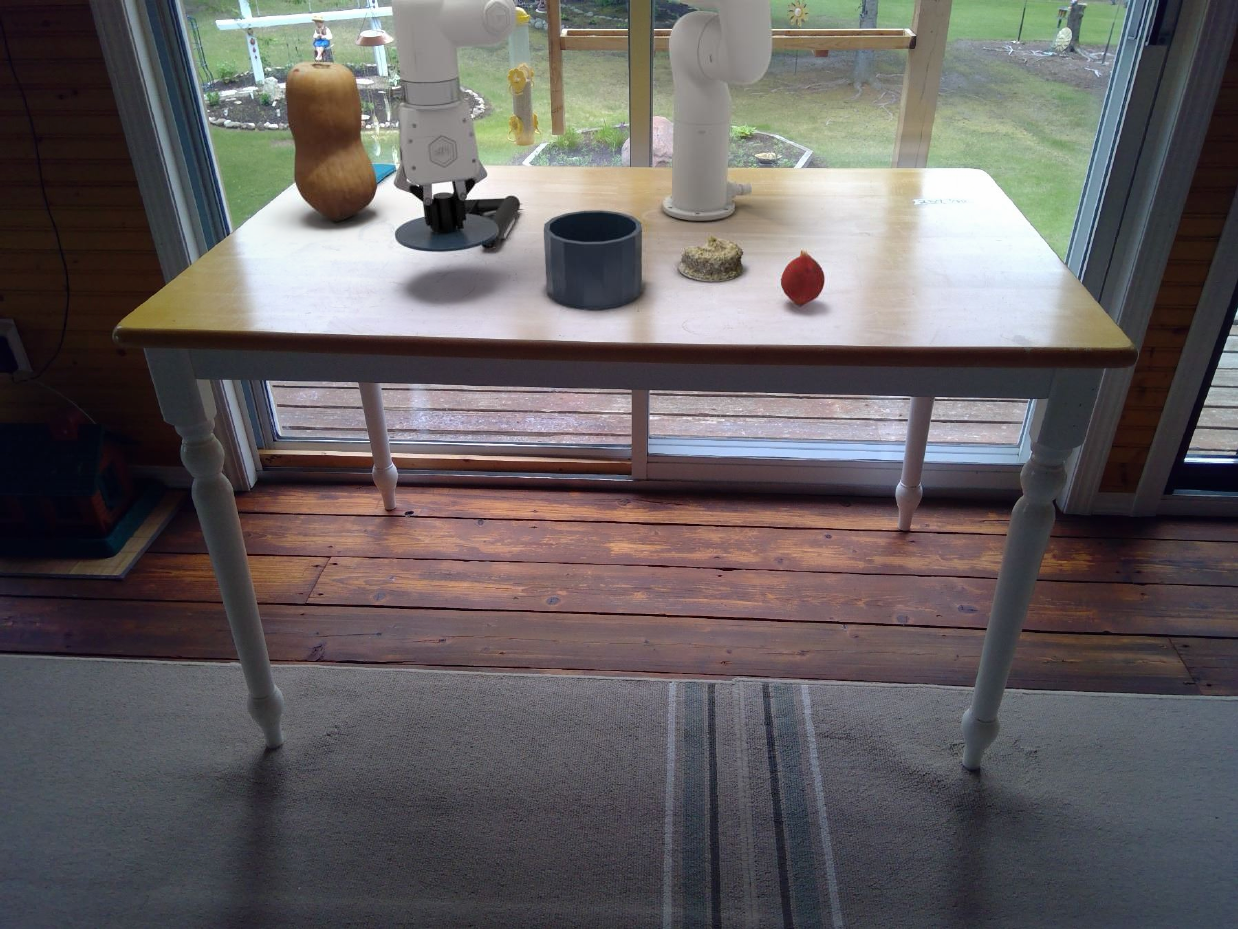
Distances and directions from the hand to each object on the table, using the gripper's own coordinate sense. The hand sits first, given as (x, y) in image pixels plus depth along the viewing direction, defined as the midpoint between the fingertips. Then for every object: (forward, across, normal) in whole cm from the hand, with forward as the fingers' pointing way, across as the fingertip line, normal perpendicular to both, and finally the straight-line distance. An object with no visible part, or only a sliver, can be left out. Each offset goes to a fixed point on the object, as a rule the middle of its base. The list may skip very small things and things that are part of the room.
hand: (446, 226), depth 133 cm
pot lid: (+1, 0, 0) cm, 1 cm away
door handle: (+9, +9, +21) cm, 25 cm away
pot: (+9, +18, -11) cm, 23 cm away
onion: (+9, +42, -28) cm, 51 cm away
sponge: (+9, -1, +58) cm, 58 cm away
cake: (+9, +37, -11) cm, 40 cm away
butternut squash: (+9, -10, +37) cm, 39 cm away
